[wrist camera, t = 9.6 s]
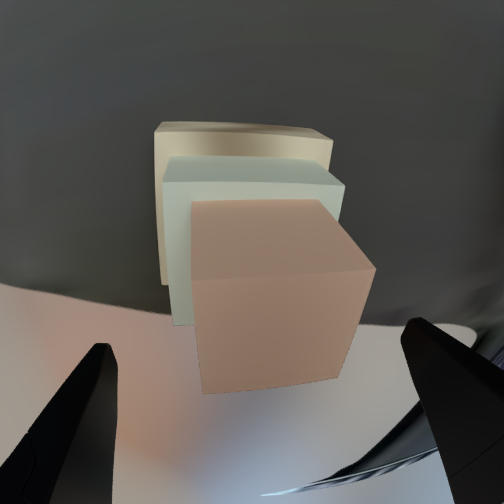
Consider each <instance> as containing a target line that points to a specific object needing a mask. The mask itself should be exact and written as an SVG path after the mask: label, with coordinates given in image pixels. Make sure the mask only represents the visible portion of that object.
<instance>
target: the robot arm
mask: <svg viewBox="0 0 504 504" xmlns="http://www.w3.org/2000/svg"><path fill="white" fill-rule="evenodd" d="M401 345H402V348H403V351H404V354H405V358H406V360H407V364H408V367H409V371H410V374H411V377H412V380H413V383H414V386H415V388H416V391H417V393H418V395H419V398H420V401H421V404H422V406H423V409H424V411H425V414H426V417H427V419H428V422H429V425H430V428H431V430H432V433H433V436H434V439H435V442H436V444H437V447H438V450H439V453H440V456H441V459H442V462H443V465H444V469H445V472H446V475H447V478H448V482H449V486H450V489H451V492H452V496H453V500H454V503H455V504H504V370H503V369H500V367H498V366H497V365H495V364H494V363H492V362H491V361H489V360H488V359H486V358H485V357H483V356H481V355H480V354H478V353H477V352H475V351H474V350H472V349H471V348H469V347H467V346H466V345H464V344H463V343H461V342H460V341H458V340H457V339H455V338H453V337H452V336H450V335H449V334H447V333H445V332H444V331H442V330H441V329H439V328H438V327H436V326H434V325H433V324H431V323H430V322H428V321H426V320H425V319H423V318H421V317H417V318H412V319H410V320H409V321H408V323H407V325H406V327H405V329H404V331H403V333H402V335H401ZM117 383H118V366H117V361H116V359H115V356H114V353H113V350H112V348H111V345H109V344H108V343H96V344H94V345H93V347H92V348H91V349H90V350H89V351H88V353H87V354H86V355H85V356H84V358H83V359H82V360H81V361H80V363H79V364H78V365H77V366H76V368H75V369H74V370H73V371H72V373H71V374H70V376H69V377H68V378H67V379H66V381H65V382H64V383H63V384H62V386H61V387H60V388H59V390H58V391H57V392H56V394H55V395H54V396H53V397H52V399H51V400H50V401H49V403H48V404H47V405H46V407H45V408H44V409H43V411H42V412H41V413H40V415H39V416H38V418H37V419H36V420H35V422H34V423H33V424H32V426H31V427H30V428H29V430H28V433H26V434H25V435H24V437H23V438H22V439H21V441H20V442H19V444H18V445H17V446H16V448H15V449H14V450H13V452H12V453H11V454H10V456H9V457H8V458H7V459H6V461H5V462H4V463H3V464H2V465H1V467H0V504H112V485H113V465H114V450H115V439H116V428H117Z"/></svg>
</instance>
